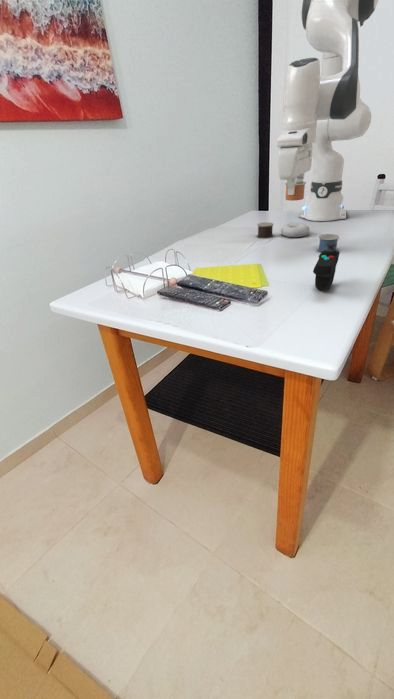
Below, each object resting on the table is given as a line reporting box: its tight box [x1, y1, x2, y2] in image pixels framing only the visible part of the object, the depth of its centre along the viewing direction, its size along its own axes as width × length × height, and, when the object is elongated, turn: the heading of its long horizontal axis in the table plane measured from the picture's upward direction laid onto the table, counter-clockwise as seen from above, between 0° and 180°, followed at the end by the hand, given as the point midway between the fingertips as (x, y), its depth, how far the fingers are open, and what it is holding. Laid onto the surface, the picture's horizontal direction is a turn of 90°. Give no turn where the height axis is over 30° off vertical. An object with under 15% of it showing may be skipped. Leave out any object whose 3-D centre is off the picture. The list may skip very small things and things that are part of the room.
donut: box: [280, 223, 310, 238], centre depth 123 cm, size 10×4×10 cm
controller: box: [312, 243, 341, 291], centre depth 77 cm, size 4×12×10 cm, turn 153°
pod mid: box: [284, 180, 307, 202], centre depth 98 cm, size 6×6×4 cm
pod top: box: [318, 233, 340, 253], centre depth 104 cm, size 6×6×4 cm
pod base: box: [257, 221, 275, 239], centre depth 124 cm, size 6×6×4 cm
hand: (294, 192), depth 98 cm, fingers closed on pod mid, 5 cm apart
